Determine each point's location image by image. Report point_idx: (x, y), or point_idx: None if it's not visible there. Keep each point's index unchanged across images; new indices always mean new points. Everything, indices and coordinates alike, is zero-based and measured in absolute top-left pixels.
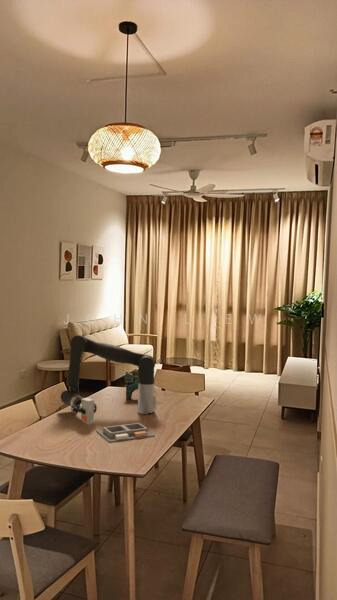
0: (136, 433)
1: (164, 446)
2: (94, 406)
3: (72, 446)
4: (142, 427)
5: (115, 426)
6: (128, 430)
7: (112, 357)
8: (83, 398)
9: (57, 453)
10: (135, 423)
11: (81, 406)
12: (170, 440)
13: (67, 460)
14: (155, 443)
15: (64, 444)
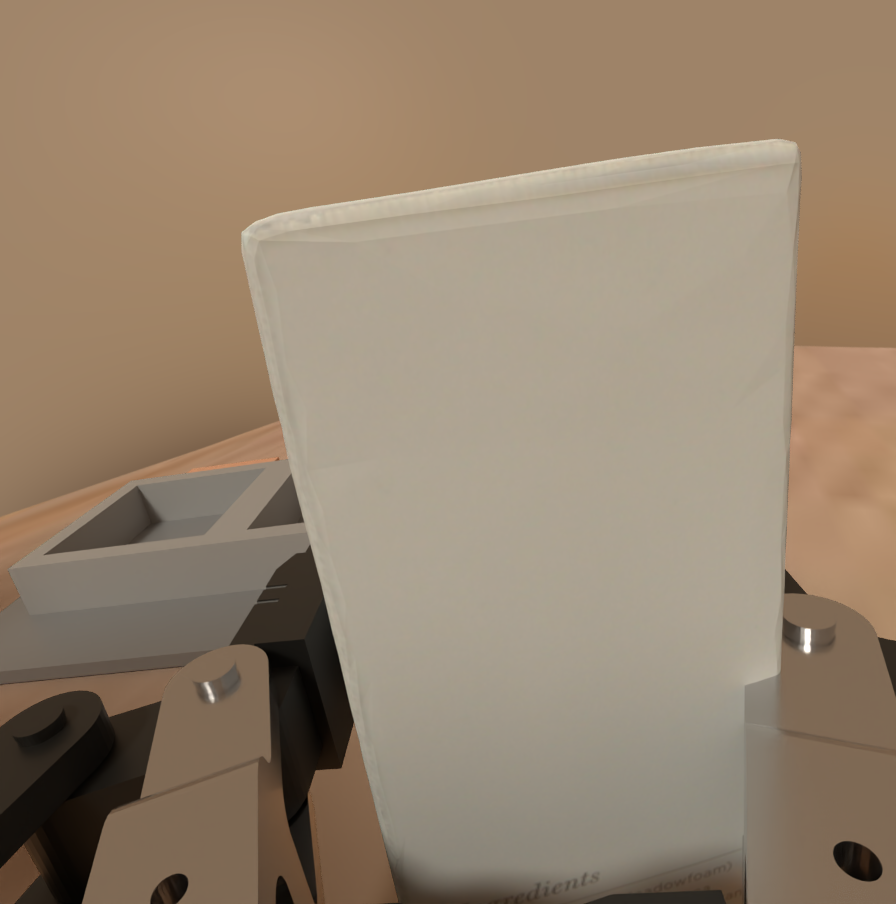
0: (267, 461)
1: (262, 429)
2: (96, 741)
3: (795, 428)
4: (112, 515)
5: (303, 523)
6: None
7: None
8: (647, 156)
9: (889, 381)
10: (57, 559)
11: (775, 608)
12: (159, 464)
13: (794, 355)
14: (262, 446)
15: (884, 446)
